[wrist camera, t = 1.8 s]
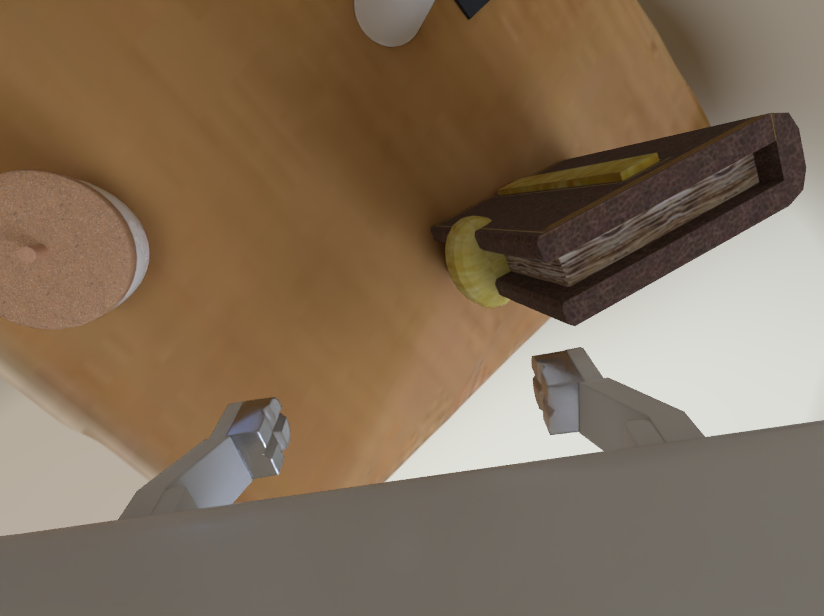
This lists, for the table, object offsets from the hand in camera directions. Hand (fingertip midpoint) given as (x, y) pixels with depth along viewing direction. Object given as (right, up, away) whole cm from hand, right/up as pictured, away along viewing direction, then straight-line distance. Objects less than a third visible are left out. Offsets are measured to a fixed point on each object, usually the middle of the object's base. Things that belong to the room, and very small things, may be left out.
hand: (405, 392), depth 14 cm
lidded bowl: (-31, +9, +29) cm, 43 cm away
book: (+11, +13, +38) cm, 41 cm away
